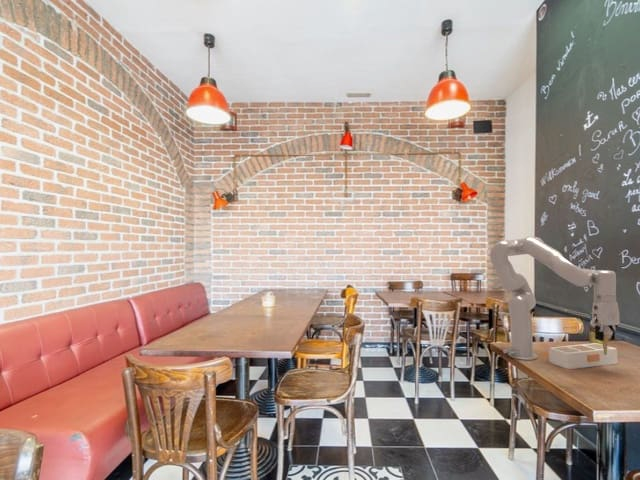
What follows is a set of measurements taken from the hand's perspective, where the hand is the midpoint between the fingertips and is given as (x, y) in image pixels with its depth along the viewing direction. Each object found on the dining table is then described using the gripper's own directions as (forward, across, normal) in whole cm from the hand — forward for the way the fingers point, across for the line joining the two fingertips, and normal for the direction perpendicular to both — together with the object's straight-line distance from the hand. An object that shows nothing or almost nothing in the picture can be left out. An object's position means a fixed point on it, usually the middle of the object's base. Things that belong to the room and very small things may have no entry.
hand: (605, 339), depth 151 cm
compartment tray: (+15, +2, +12) cm, 19 cm away
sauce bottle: (+15, +25, +24) cm, 37 cm away
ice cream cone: (+7, 0, 0) cm, 7 cm away
